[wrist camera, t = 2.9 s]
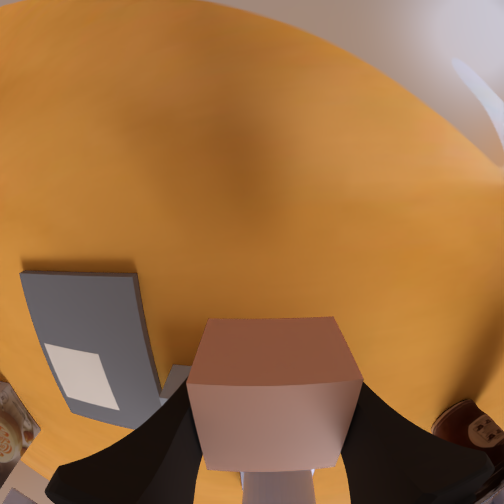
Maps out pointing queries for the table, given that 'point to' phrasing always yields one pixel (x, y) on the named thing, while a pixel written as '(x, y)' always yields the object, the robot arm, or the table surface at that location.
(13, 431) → the coffee box
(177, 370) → the slate block
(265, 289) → the table surface
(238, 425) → the terracotta block
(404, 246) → the table surface
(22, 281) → the base plate
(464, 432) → the coffee cup
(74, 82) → the table surface
